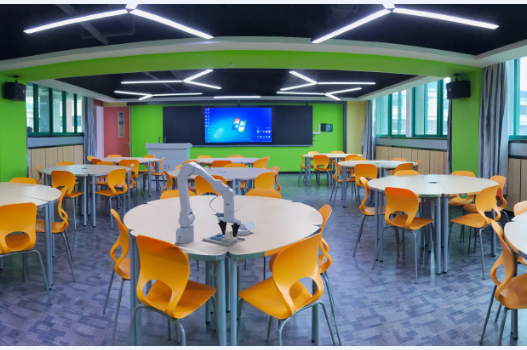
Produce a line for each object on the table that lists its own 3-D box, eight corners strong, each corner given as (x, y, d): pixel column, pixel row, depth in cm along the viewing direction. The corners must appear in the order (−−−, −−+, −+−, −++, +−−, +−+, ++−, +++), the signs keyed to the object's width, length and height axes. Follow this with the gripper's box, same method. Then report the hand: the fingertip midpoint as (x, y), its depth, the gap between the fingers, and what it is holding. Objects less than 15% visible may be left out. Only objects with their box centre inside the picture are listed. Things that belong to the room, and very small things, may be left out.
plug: (229, 242, 185) (229, 231, 185) (225, 241, 187) (225, 230, 187) (233, 241, 188) (233, 230, 187) (229, 240, 190) (228, 229, 189)
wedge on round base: (246, 230, 213) (231, 234, 203) (246, 219, 213) (231, 223, 203) (257, 232, 208) (243, 237, 198) (257, 221, 207) (243, 226, 197)
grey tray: (229, 248, 179) (229, 242, 178) (201, 241, 190) (201, 236, 190) (246, 241, 190) (246, 236, 190) (218, 235, 201) (218, 230, 201)
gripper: (244, 211, 185) (244, 235, 186) (223, 208, 193) (224, 231, 195) (235, 213, 179) (236, 239, 181) (215, 210, 187) (215, 234, 189)
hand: (229, 235), depth 187 cm, fingers open, 7 cm apart
